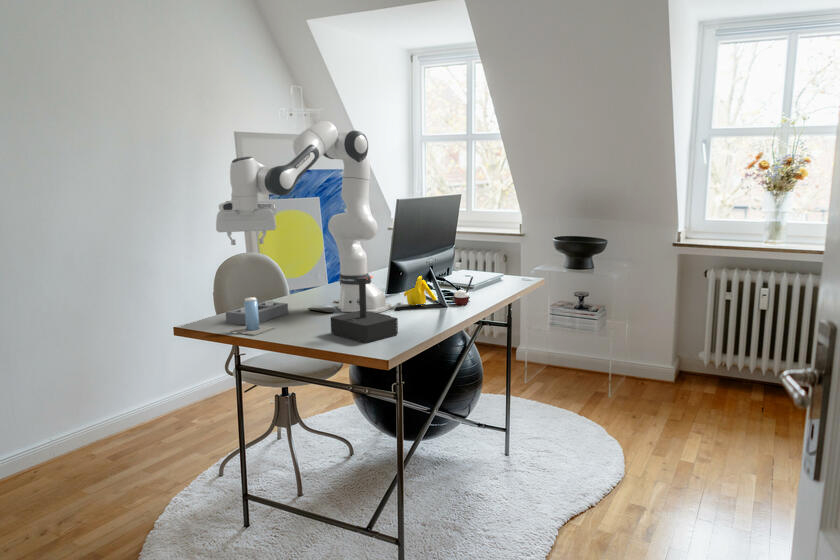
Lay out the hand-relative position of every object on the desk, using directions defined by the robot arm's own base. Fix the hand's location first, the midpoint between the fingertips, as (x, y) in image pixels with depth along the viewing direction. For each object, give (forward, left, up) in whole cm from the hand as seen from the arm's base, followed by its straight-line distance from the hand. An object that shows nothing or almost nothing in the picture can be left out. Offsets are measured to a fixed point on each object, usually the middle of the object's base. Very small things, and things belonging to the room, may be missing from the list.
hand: (247, 244), depth 221 cm
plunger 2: (+12, -24, -30) cm, 41 cm away
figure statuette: (-35, -62, -31) cm, 78 cm away
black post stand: (-40, -12, -32) cm, 52 cm away
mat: (0, 0, -31) cm, 31 cm away
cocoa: (-52, -70, -31) cm, 93 cm away
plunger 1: (+12, -10, -30) cm, 34 cm away
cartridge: (0, 0, -31) cm, 31 cm away
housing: (+12, -17, -31) cm, 37 cm away
